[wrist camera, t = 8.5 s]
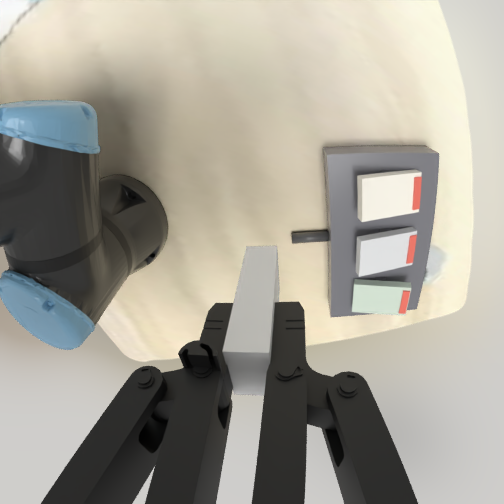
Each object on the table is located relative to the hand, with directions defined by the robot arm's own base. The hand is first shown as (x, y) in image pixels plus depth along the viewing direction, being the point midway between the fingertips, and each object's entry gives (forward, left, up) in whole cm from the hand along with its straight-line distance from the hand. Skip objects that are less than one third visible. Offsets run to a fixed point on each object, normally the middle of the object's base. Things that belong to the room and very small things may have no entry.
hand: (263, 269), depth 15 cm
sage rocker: (+12, -19, -19) cm, 29 cm away
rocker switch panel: (+10, -11, -24) cm, 28 cm away
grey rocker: (+12, -11, -19) cm, 25 cm away
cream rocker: (+12, -4, -19) cm, 23 cm away
